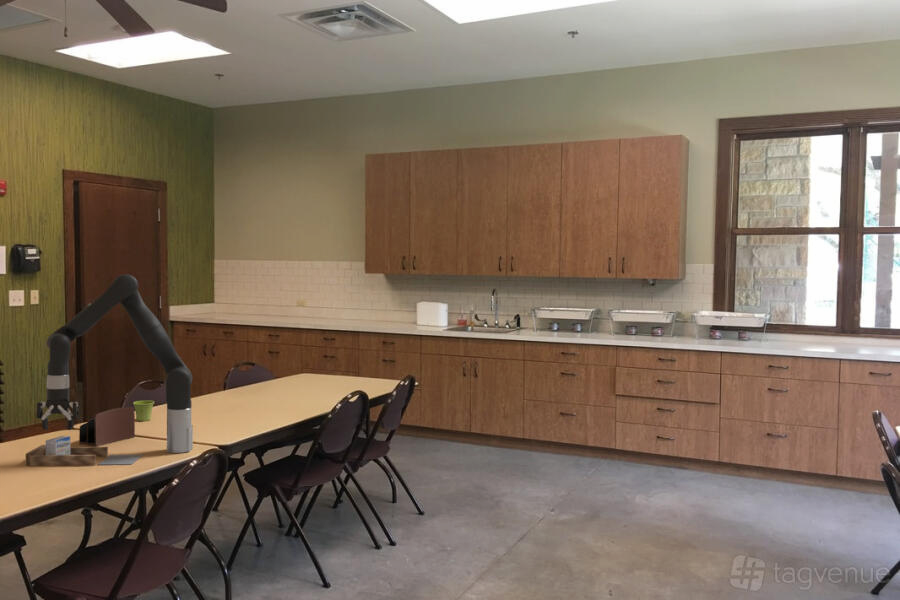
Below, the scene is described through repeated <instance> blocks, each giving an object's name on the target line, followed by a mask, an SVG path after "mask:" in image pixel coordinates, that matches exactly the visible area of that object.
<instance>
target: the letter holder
mask: <svg viewBox="0 0 900 600" xmlns="http://www.w3.org/2000/svg"><path fill="white" fill-rule="evenodd" d="M135 419H136V411H135V407H132V406H127V407H126V406H125V407H116V408H111V409H107V410H105V411H102V412H98V413H96V414H95V415H94V418H90V419H88V421H87V422H85V423H83V424H81V425H80V426H79V431H78V432H79V435H78V437H79V438H78V439H79V440H78V445H84V446H87V447H102V446H104V445H108V444H112V443H113V444H114V443H117V442H122V441H126V440H129V439H134V438H135V437H136V434H135V433H136V428H135Z"/></svg>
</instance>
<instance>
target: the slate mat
mask: <svg viewBox="0 0 900 600" xmlns="http://www.w3.org/2000/svg"><path fill="white" fill-rule="evenodd" d="M143 455H144V454H110V455H108V456H107V457H106V458H104V459H103V460H102V461H100V462H99V463H98V464H97V466H127V465H128V466H129V465H131V466H132V465H133V464H134V463H136V462H137V461H138V460H139V459H140V458H141V457H143Z"/></svg>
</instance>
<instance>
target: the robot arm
mask: <svg viewBox="0 0 900 600" xmlns="http://www.w3.org/2000/svg"><path fill="white" fill-rule="evenodd" d="M119 304H121V306H122V307H123V308H124V310H125V311H126V313H127V315H128V316H129V318H130V321H131V322H132V324H133V327H134V330H136V332H137V333H138V336H139V338H140V339H141V341H142V342H143V344H144V346H145V347H146V348H147V350H149V352H150V353H151V354H152V355H153V357H155V358H156V359H157V360H158V361H159V363H160V365H161V366H162V368H163V369H164V372H165V373H166V378H165V402H166V453H167V452H168V453H171V454H181V453H189V452H191V451H192V449H193V445H194V444H193V441H194V440H193V439H194V438H193V437H194V436H193V435H194V432H193V431H194V429H193V428H194V427H193V425H192V395H191V385H192V382H193V373H192V372H191V370H190V369H189V367H187V365H186V364H185V362H184V361H183V359H182V358H181V357H180V355H179V354H178V352H177V351H176V348H175V347H174V344H173V342H172V340H171V338H170V337H169V335H168V333H167V331H166V330H165V328H164V327H163V325H162V323H161V322H160V320H159V318H157V316H156V315H155V314H154V313H153V312H152V310H151V309H150V308H149V307H148V305H146V303H145V302H144V300H143V298H142V296H141V294H140V291H139V282H138V280H137V278H136V277H134V276H133V275H131V274H129V273H127V274H126V273H123V274H120V275H118V276H116V277H115V279H114V280H113V281H112V284H111V285H109V287H108V288H107V289H106V290H104V292H103V293H102V294H101V295H100V296H98V298H96V299H95V300H94V301H93V302H91V303H90V304H89V305H88V306H86V307H85V308H83V309H82V310H81V311H79V312H78V313H77V314H76V315H75V316H73V318H71V319H70V320H69V321H67V323H65V324H64V325H63V326H61V327H60V328H58V329H56V331H54V332H53V333H51V334H50V335H49V336H48V337H47V340H46V346H47V348H48V350H49V360H48V363H47V378H46V401H39V402H37V404H36V419H40V420H41V428H42V429H43V431H47V430H49V419H48V418H49V417H50V416H51V414H52V415H56V414H58V415H62V414H63V416H65V417H66V418H67V430H68V431H71V430H72V429H73V428H74V419H77V418H79V417H80V411H79V410H80V409H79V407H80V406H79V401H75V402H74V401H73V402H72V401H71V402H70V366H69V365H70V363H69V360H70V356H71V343H72V342H73V341H75V340H76V339H77V338H78V337H81V336H83V335H85V334H86V333H87V332H88V331H90V330H91V328H93V327H94V326H95V325H96V324H97V323H98V322H99V321H100V320H101V319H102V318H103V317H104V316H105V315H106V314H107V313H108V312H110V311H111V310H112V309H113V308H114V307H116V306H117V305H119ZM45 407H46V408H47V409H46V411H45V413H44V408H45ZM70 407H71V409H72V412H71V410H70Z"/></svg>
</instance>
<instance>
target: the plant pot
mask: <svg viewBox="0 0 900 600" xmlns="http://www.w3.org/2000/svg"><path fill="white" fill-rule="evenodd" d="M132 404H133V406H134V407H133V408H134V411H135V419H136V421H137V422H140V421H141V422H148V420H149V421H151V418H152V411H153V406H154V404H155V401H154V400H136V401H134V402H133V403H132Z"/></svg>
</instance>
